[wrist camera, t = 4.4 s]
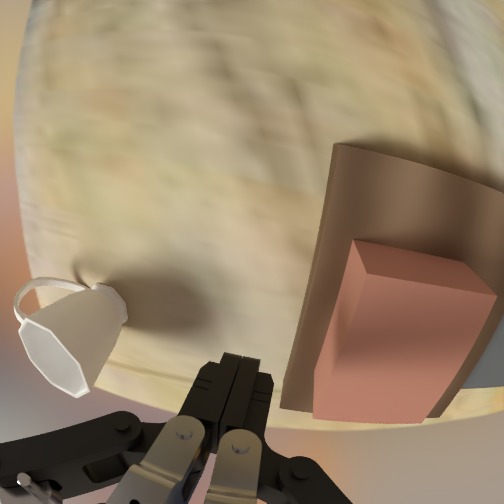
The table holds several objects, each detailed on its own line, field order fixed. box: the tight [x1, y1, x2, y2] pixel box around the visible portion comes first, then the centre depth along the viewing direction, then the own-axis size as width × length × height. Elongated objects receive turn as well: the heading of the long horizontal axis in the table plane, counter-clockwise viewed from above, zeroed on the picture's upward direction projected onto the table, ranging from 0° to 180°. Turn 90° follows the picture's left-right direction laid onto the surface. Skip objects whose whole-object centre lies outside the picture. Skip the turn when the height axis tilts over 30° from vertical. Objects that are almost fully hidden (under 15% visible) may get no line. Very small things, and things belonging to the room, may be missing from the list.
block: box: [313, 240, 497, 424], centre depth 14 cm, size 7×9×4 cm
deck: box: [280, 144, 504, 418], centre depth 17 cm, size 14×18×3 cm
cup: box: [14, 277, 128, 398], centre depth 19 cm, size 7×10×8 cm
